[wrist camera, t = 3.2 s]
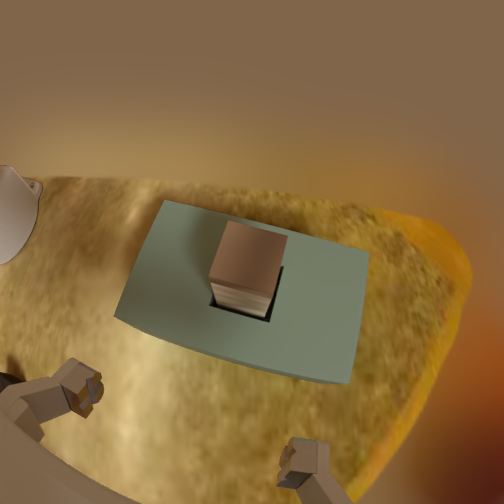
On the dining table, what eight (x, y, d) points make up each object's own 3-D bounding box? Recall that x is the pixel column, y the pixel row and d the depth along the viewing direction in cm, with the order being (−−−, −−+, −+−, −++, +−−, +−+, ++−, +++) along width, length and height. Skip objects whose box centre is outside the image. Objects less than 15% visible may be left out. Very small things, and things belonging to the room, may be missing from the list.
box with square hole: (146, 333, 29) (113, 316, 21) (181, 241, 34) (164, 199, 26) (319, 382, 28) (349, 384, 20) (339, 283, 33) (369, 252, 25)
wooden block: (219, 312, 26) (208, 275, 17) (232, 274, 27) (228, 220, 18) (261, 324, 26) (273, 293, 16) (272, 284, 27) (288, 235, 18)
